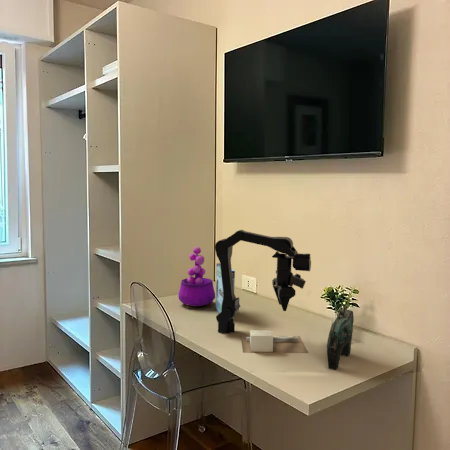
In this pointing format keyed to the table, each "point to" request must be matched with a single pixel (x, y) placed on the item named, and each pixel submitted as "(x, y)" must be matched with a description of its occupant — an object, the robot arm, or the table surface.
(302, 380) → the table surface
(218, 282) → the gum box
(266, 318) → the table surface
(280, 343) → the cleat board
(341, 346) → the dark green upright piece
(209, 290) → the decorative plant
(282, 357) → the table surface
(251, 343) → the notched block
